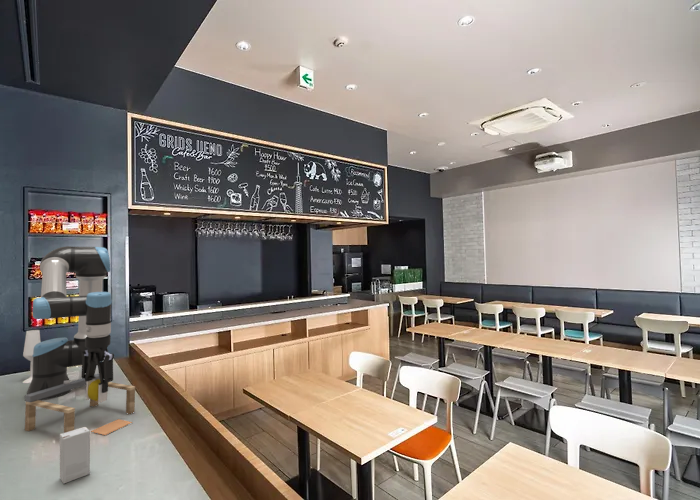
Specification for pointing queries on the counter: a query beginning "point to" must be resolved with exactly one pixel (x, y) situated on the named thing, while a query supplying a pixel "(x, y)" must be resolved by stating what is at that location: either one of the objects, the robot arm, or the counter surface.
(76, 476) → the skincare box
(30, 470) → the counter surface
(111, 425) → the pad
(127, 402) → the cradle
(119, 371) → the counter surface
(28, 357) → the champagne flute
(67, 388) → the bar
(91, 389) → the lemon
